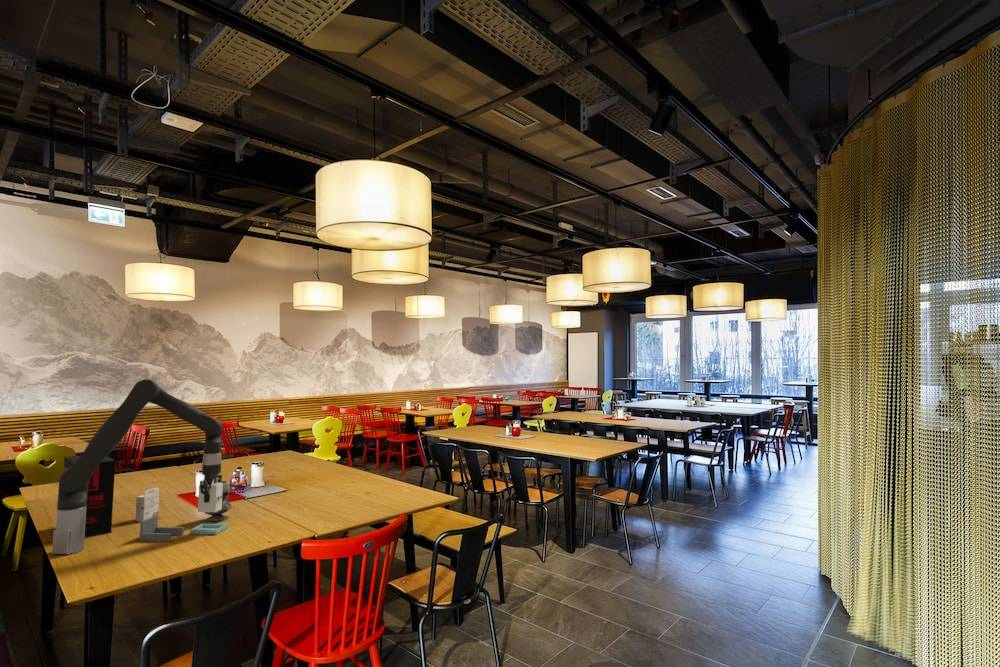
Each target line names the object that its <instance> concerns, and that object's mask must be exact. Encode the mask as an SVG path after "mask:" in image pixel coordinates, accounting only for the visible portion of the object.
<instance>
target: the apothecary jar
mask: <svg viewBox="0 0 1000 667" xmlns="http://www.w3.org/2000/svg"><path fill="white" fill-rule="evenodd" d="M228 482H229V481H228V480H221V483H223V490H222V496H223V498H222V509H221V510H219V511H217V512H203V513H205V514H207V515H208V517H207V518H205V519H204V521H205V522H206V523H220V522H224V521H227V520H228V519H229V516H228V515H224V514H225V513H227V512H228V511H229V510H231V508H232V504H231V503H230V502H229V494H230V492H231V491H232V487H231V486H230V485H229V483H228Z"/></svg>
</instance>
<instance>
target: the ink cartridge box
mask: <svg viewBox="0 0 1000 667" xmlns="http://www.w3.org/2000/svg"><path fill="white" fill-rule="evenodd" d="M159 490H160V488H159V486H158V487H153V488H149V489H146V490H144V491H143V492H144V494H141V495H138V496H136V497H135V498H136V500H135V501H136V503H135V522H141V521H144V520H146V519H148V518H151V517H153V516H156V515H158V516H159V506H160V504H159V502H160V500H159V499H160V491H159ZM151 491H152V492H151Z"/></svg>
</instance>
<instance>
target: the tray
mask: <svg viewBox="0 0 1000 667" xmlns="http://www.w3.org/2000/svg"><path fill="white" fill-rule="evenodd" d="M227 528H229V524H228V523H201V524H199V525H197V526H195V527H193V528H191V529H189V535H196V536H198V535H202V536H203V534H204V535H207V536H211V534H213V535H212V536H215V535H216V536H217V535H219V534H221V533H222V532H224V531H226V530H228V529H227ZM225 529H226V530H225ZM220 532H221V533H220ZM218 533H219V534H218ZM208 534H210V535H208Z"/></svg>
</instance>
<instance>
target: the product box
mask: <svg viewBox="0 0 1000 667" xmlns="http://www.w3.org/2000/svg"><path fill="white" fill-rule="evenodd" d="M80 456H81V455H72V456H71V455H70V456H64V457H63V458H64V459H63V460H64V461H63V471H64V470H66V469H67V468H70V467H71V466H72V465H73V464H74V463H75V462H76V461H77V460H78V459H79V458H80ZM115 470H116V460H115V459H113V458H111V457H110V456H109V455H107V456H106V457H105V458H104V459H103V461H102V462H101V463H100V464H99V465H98V467H97V468H96V470H95V471H94V473H93V474H92V476H91V477H90V479H89V480H88V490H87V507H86V523H85V537H86V538H90V537H95V536H96V537H97V536H102V535H106V534H111V533H112V526H113V507H114V492H115V491H114V489H115V473H116V471H115Z"/></svg>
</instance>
